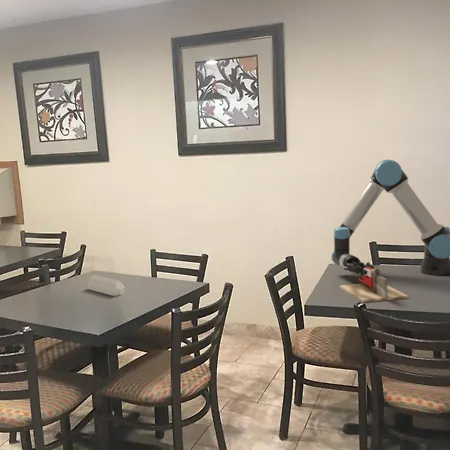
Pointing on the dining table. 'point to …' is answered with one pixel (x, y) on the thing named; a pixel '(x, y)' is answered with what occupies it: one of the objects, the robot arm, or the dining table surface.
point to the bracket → (368, 279)
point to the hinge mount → (373, 290)
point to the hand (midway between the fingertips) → (373, 273)
